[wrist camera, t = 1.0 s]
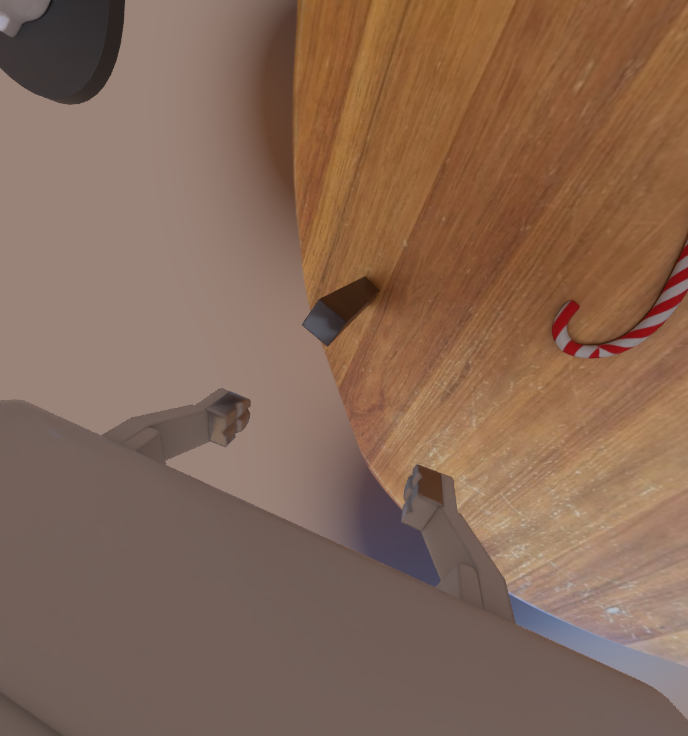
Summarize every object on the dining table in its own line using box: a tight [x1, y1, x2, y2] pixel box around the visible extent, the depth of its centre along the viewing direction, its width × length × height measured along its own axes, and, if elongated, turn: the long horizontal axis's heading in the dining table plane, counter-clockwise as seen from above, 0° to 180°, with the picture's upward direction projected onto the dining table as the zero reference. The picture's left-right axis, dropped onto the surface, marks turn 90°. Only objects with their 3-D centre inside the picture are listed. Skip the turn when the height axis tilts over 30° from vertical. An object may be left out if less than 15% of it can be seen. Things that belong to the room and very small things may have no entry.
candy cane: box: [552, 239, 688, 358], centre depth 22 cm, size 8×1×15 cm
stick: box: [302, 277, 380, 346], centre depth 23 cm, size 2×2×14 cm
